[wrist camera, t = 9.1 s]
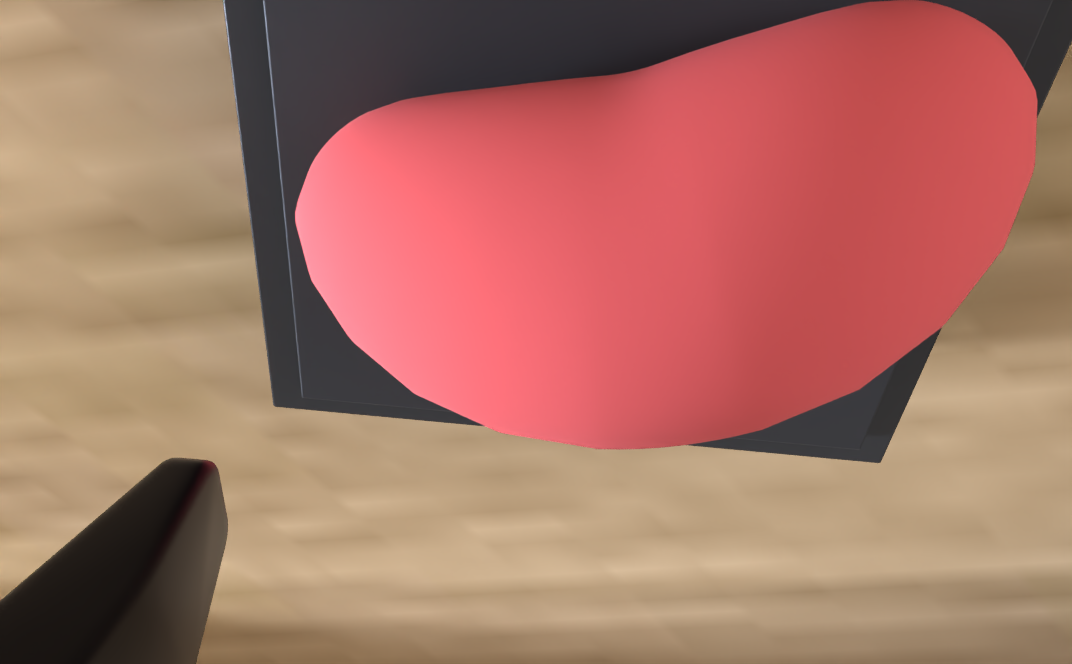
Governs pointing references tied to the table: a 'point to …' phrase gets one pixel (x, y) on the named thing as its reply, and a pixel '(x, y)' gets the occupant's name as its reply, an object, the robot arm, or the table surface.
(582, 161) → the stress ball
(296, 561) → the table surface
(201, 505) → the robot arm
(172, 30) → the table surface
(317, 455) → the table surface
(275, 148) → the black case
